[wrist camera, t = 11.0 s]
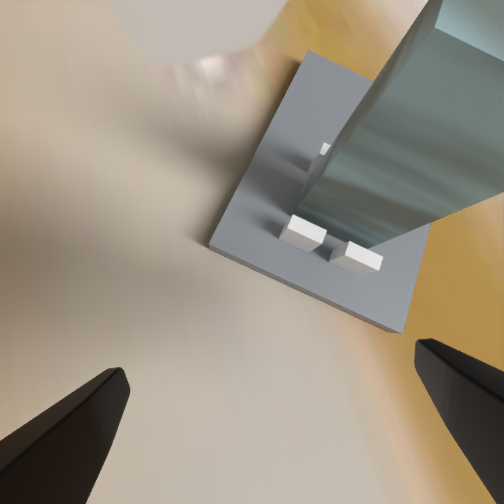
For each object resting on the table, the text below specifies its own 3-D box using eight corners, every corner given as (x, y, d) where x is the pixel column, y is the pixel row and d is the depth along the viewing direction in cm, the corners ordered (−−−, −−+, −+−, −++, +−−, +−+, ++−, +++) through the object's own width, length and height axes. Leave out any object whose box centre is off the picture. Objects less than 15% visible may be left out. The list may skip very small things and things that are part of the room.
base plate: (388, 332, 19) (431, 337, 15) (209, 249, 19) (206, 233, 15) (443, 133, 25) (485, 99, 21) (302, 65, 24) (318, 18, 20)
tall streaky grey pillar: (363, 250, 19) (647, 131, 6) (290, 216, 19) (434, 27, 6) (377, 208, 20) (647, 32, 7) (308, 175, 20) (463, -60, 7)
